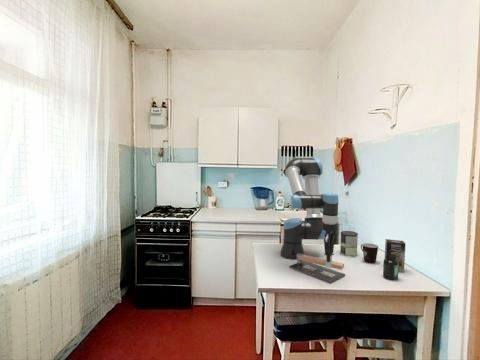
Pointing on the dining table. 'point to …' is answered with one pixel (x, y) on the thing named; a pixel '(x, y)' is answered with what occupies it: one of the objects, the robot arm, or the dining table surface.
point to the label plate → (317, 271)
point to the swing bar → (319, 261)
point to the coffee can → (349, 243)
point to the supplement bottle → (390, 267)
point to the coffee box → (396, 251)
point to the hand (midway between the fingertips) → (328, 267)
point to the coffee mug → (369, 252)
